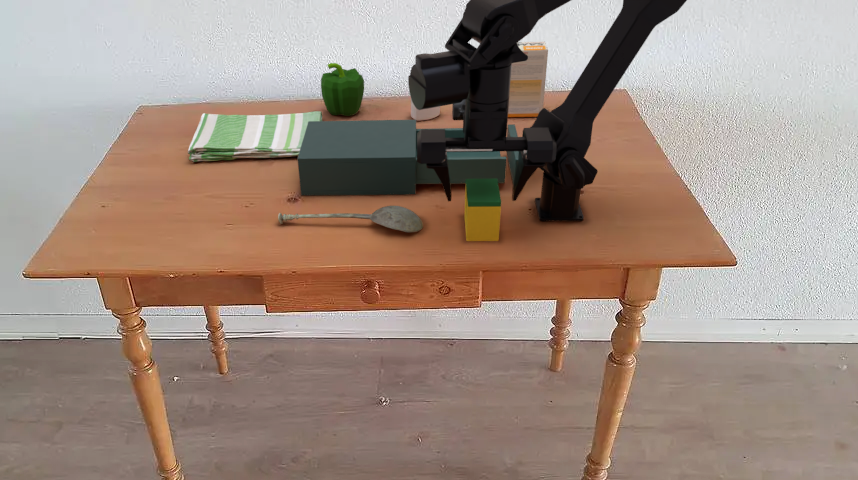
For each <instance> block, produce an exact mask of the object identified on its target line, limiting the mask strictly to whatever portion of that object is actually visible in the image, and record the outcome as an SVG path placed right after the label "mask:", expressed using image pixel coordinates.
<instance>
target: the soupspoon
mask: <svg viewBox="0 0 858 480" xmlns="http://www.w3.org/2000/svg"><path fill="white" fill-rule="evenodd" d="M277 216H278V217H277V218H278V219H277V220H278V222H279V224H280V225H282V224H283V223H284V222H287V221H293V220H295V219H296V220H299V219H333V218H334V219H341V218H342V219H361V220H370V221H371V222H373V223H375V224H377V225H380V226H383V227H385V228H388V229H392V230H396V231H401V232H405V233H417V232H420V231H421V230H422V229H423V228H424V223H423V220H422V219H421V218H420V217H419V215H418V214H416V213H415V212H414V211H413V210H411V209H409V208H407V207H404V206H400V205H386V206H383V207H380V208H377V209H376V210H375V211H373V212H372V213H353V212H349V213H348V212H347V213H346V212H345V213H343V212H342V213H339V212H338V213H308V214H298V213H295V214H291V213H289V214H286V213H283V214H282V213H281V212H279V213H278V215H277Z"/></svg>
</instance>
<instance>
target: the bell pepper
mask: <svg viewBox="0 0 858 480" xmlns="http://www.w3.org/2000/svg"><path fill="white" fill-rule="evenodd" d="M327 67H328V69H329V70H331V69H333V70H332V71H331V72H324V73H322V75H321V79H320V90H321V96H322V100H323V103H324V105H325V108H326V110H327V112H329V114H330V115H332V116H341V115H342V116H345V117H350V116H351V117H352V116H355V115H356V114H357V113H359V111H360V109H361V108H362V107H361V106H362V102H363V98H364V93H365V79H364V77H363V75H362V74H360V73H359V71H358V70H357V68H350V69H345V68H343V66H342V65H340V64H339V63H337V62H330V63H327Z"/></svg>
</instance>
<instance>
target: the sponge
mask: <svg viewBox="0 0 858 480" xmlns="http://www.w3.org/2000/svg"><path fill="white" fill-rule="evenodd" d="M464 188H465V189H464V190H465V191H464V213H463V214H464V215H463V219H464V227H465V228H464V229H465V239H466V242H499V241H500V227H501V213H502V198H501V197H502V196H501V192H500V186H499V183H498V180H497V179H466V183H465V187H464Z"/></svg>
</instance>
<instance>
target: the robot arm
mask: <svg viewBox="0 0 858 480" xmlns="http://www.w3.org/2000/svg"><path fill="white" fill-rule="evenodd" d="M571 1H572V0H469V1H467V3H466V5H465V9H464V12H463V14H462V18H461V19H460V21H459V22H458V24H457V25H456V27H455V29H454V30H453V32H452V33H451V35H450V36H449V38H448V40H447V41H446V42H445V44H444V49H446V50H447V51H441V52H435V53H418V54H416V55H415V58H414V59H415V63H414V64H413V65H412V66H411V69H410V73H409V75H408V77H407V78H408V79H407V81H408V83H407V84H408V91H409V96H410V100H411V99H412V102H413V104H414V106H415V107H416V108H417V109H418V110H422V109H428V108H433V107H439V106H440V107H444V106H450V105H452V108H451V109H452V111H451V112H452V113H451V114H452V115H451V118H452V121H462V128H463V133H464V138H445V129H435V128H420V129H421V130H420V131H419V132H418V133H417V162H418V163H420V164H426V167H427V168H429V169H434V171H435V172H436V174H437V176H438V177H439V179H440V181H441V183H442V184H441V186H442V188H443V190H444V193H445V196H446V199H447V201H448V202H452V184H450V175H449V167H448V158H447V152H495V151H500V152H506V151H519V156H518V164H517V169H516V174H515V179H514V184H513V183H512V193H511V194H512V195H511V197H512V199H511V200H512V201H513V202H516V201H517V200H518V198H519V196H520V195H521V193H522V191H523V189H524V187H525V185H526V184H527V182H528V181H529V180H530V179H531V177H532V176H533V174H535V172H536V171H537V170H538V169H540V170H541V171H542V172H543V173H542V180H541V190H540V197H535V198H534V205H535V209H536V212H537V217H538V221H540V222H583V221H584V220H585V215H584V214H583V211H582V210H583V209H582V208H581V204H580V202H581V201H580V200H581V192H582V189H583V188H584V187H585V186H589V185H593V183H594V181H595V179H596V176H597V174H598V172H599V171H598V169H597V168H596V167H594V165H593V164H592V163H591V162H589V160H588V159H586V158H585V157H586V154H587V152H588V151H589V149H590V146H591V142H592V134H593V125H594V122H595V119H596V118H597V116H598V115H599V113H600V112H601V110H602V109H603V107H604V106H605V104H606V103H607V101H608V99H609V98H610V96H611V95H612V93H613V92H614V90H615V89H616V87H617V86H618V84H619V82H620V81H621V79H622V78H623V76H624V74H626V72H627V70H628V69H629V67H630V66H631V64H632V63H633V61H634V59H635V58H636V56H637V55H638V53H639V52H640V50H641V49H642V47H643V46H644V44H645V42H646V41H647V40H648V38H649V37H650V35H651V33H652V31H653V30H654V29H655V28H656V27H657V26H658V25H659V24H661V23H662V22H665V20H667V19H669V18H670V17H672V16H673V15H675V14H676V13H677V12H679V11H680V10H681V9H682V7H683V6H684V5H685V3H686V2H687V1H688V0H623V1H622V7H621V9H620V11H619V13H618V15H617V17H616V18H615V19H614V21H613V23H612V24H611V25H610V28H609V30H608V31H607V33H606V34H605V36H604V37H603V38H602V41H600V44H599V45H598V47H597V49H596V50H595V52H594V53H593V55H592V56H591V58H590V60H589V61H588V62H587V64H586V66H585V67H584V69H583V70H582V72H581V74H580V75H579V77H578V79H577V80H576V82H575V83H574V85H573V87H572V88H571V89H570V91H569V93H568V95H567V96H566V98H565V99H564V100H563V102H562V103H560V105H558V106H556V107H555V108H554V109H552V110H551V111H549V110H548V109H547V108H545V107H543V109H542V110H541V111H540V112H539V114H538V116H537V117H536V119H535V120H534V122H533V123H532V124H531V126H530V127H523V129H522V133H521V134H522V136H518V137H507V129H508V121H509V117H508V109H509V94H510V81H511V67H512V63H516V62H522V61H526V60H527V59H528V56H527V55H526V54H525V53H524V52H522V51H521V49H520V48H519V47H518V44H517V42H521V41H522V40H523V39H524V38H525V37H526V36H528V35H529V34H531V32H532V31H533V29H534V28H535V26H536V25H537V23H538V22H539V21H540V20H541V19H542V18H543V17H545V16H546V15H548V14H549V13H551V12H553V11H555V10H556V9H559V8H560V7H562V6H564V5H566V4H568V3H569V2H571ZM471 40H474V41H475V42H477V43H478V44H479V45H478V46H477V47H475V46H474V45H473V44H471V43H470V41H471Z"/></svg>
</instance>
